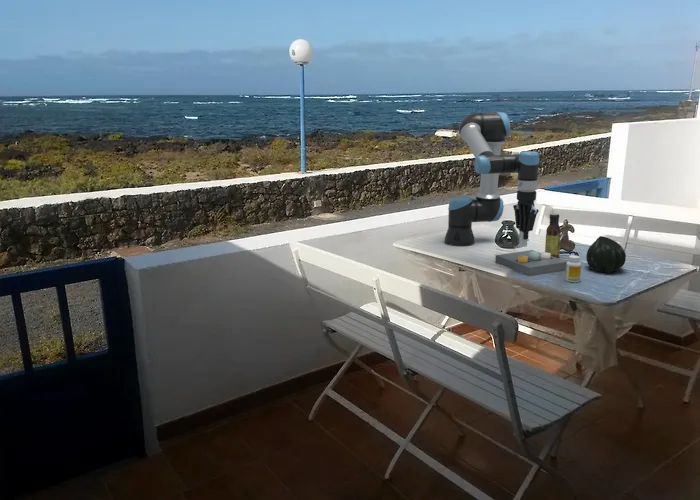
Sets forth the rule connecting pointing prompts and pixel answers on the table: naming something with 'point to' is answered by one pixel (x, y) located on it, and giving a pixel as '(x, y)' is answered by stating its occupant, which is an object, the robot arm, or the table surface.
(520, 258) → the amber button
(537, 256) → the teal button
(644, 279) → the table surface
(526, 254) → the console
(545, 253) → the ivory button
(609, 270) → the squash
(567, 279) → the supplement bottle
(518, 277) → the table surface
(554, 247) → the sauce bottle
